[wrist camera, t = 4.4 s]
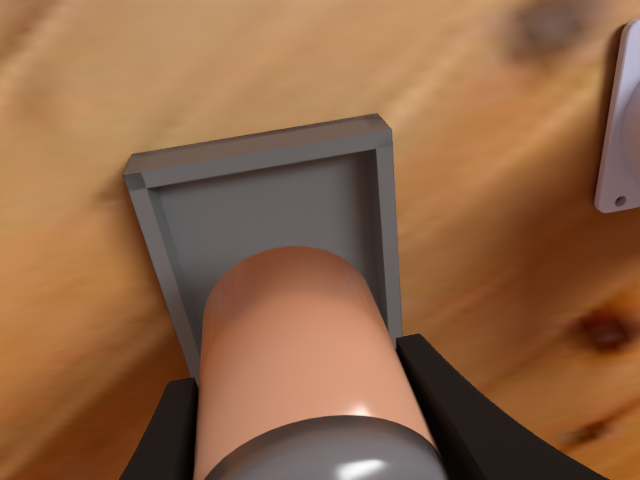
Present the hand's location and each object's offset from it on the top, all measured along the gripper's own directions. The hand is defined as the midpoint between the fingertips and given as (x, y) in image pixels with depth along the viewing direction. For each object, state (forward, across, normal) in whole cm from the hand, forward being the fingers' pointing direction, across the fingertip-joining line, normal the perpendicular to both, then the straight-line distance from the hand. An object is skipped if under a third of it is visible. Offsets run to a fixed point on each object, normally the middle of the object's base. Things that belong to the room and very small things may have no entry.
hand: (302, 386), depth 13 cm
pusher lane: (+9, 0, +7) cm, 12 cm away
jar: (+2, 0, 0) cm, 3 cm away
